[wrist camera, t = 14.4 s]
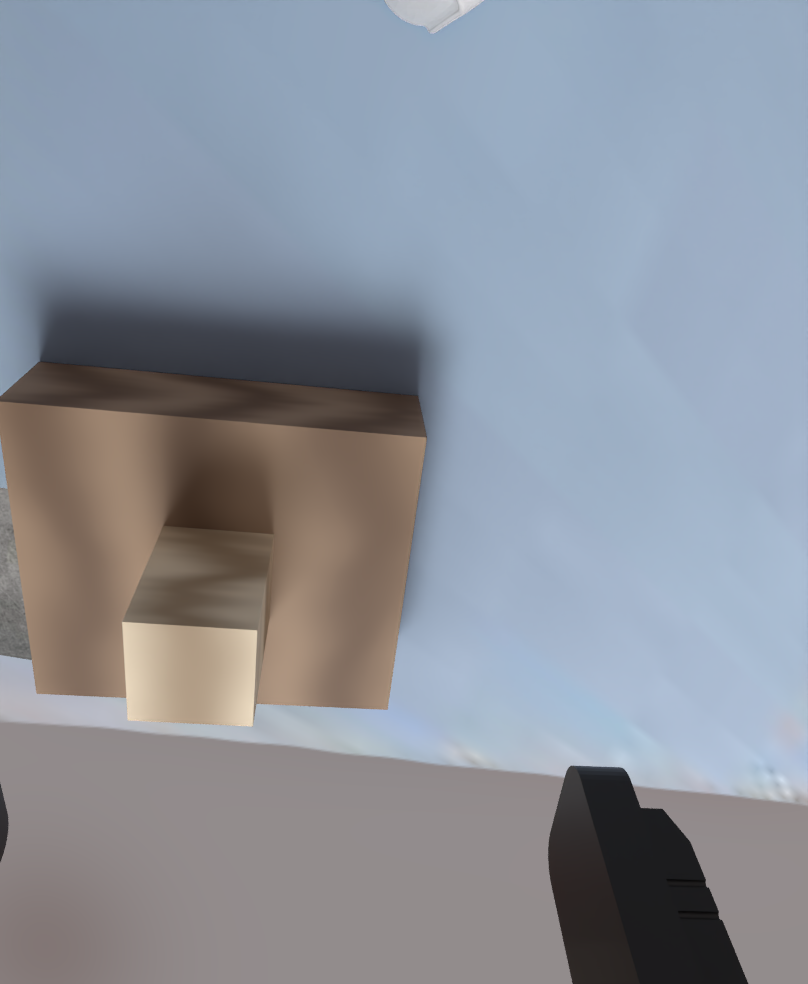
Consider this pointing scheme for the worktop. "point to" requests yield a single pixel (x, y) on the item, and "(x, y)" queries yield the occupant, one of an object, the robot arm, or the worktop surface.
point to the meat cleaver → (11, 589)
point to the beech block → (199, 628)
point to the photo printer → (431, 11)
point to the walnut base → (213, 516)
